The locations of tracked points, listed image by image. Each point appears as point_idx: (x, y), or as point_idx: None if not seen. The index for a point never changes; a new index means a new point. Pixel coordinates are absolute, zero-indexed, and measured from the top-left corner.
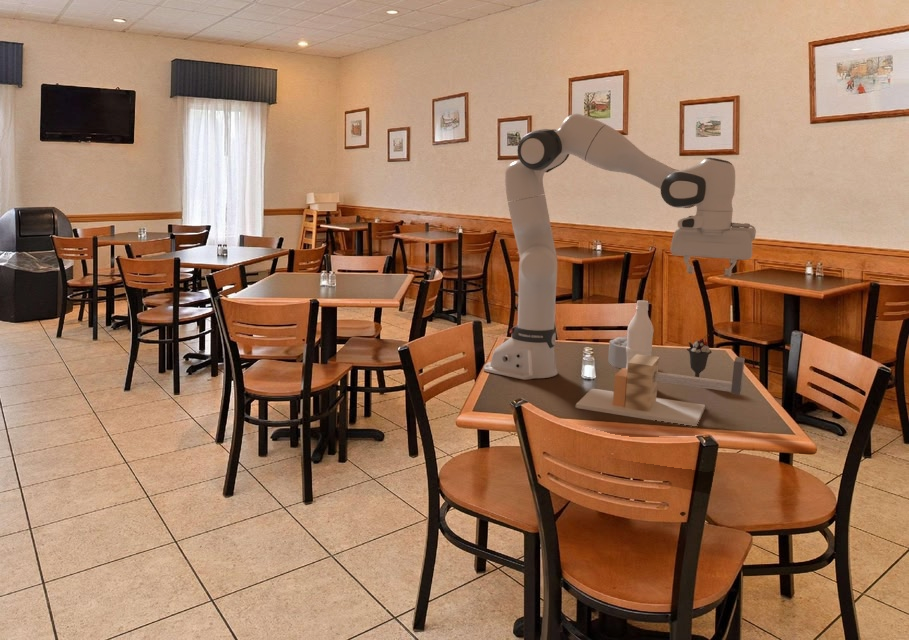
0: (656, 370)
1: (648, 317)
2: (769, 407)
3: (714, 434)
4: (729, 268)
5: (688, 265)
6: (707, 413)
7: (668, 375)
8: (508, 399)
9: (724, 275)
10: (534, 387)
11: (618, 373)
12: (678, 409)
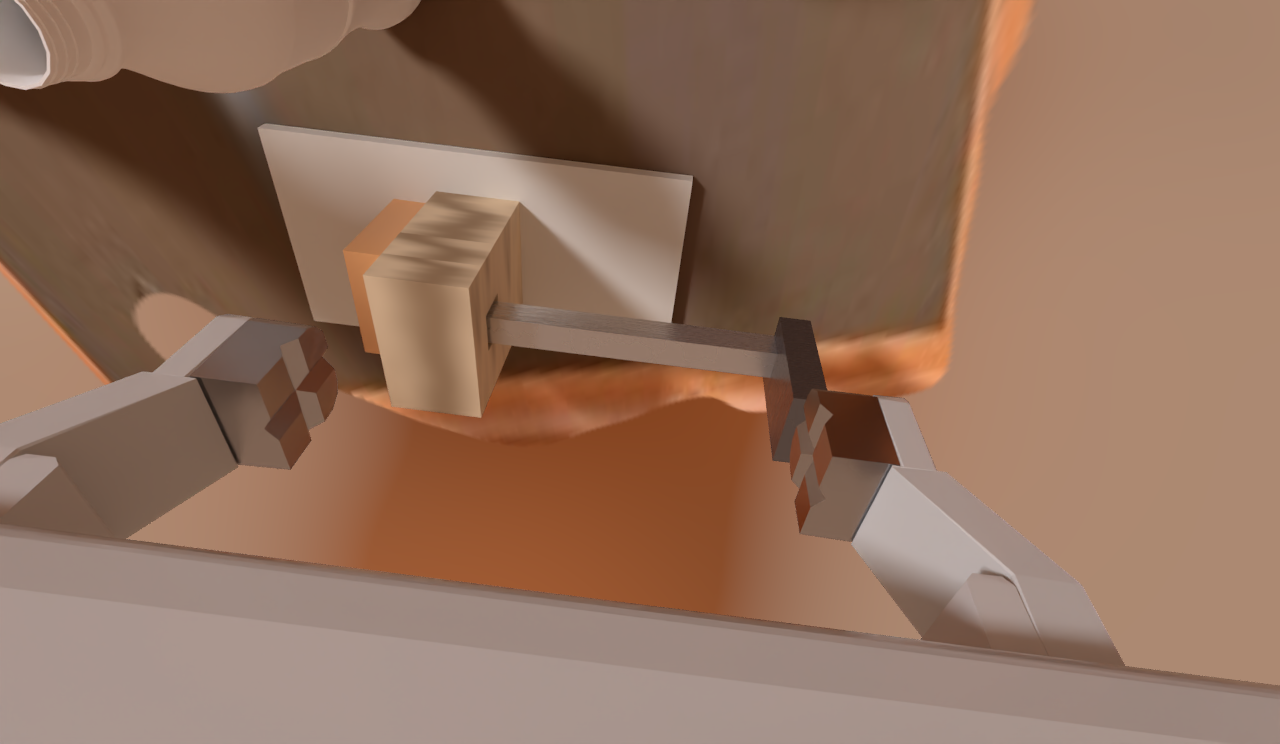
0: (486, 307)
1: (179, 21)
2: (969, 50)
3: (710, 390)
4: (871, 563)
5: (201, 477)
6: (700, 226)
7: (542, 349)
8: (123, 305)
9: (791, 448)
10: (72, 150)
11: (365, 328)
12: (604, 266)
